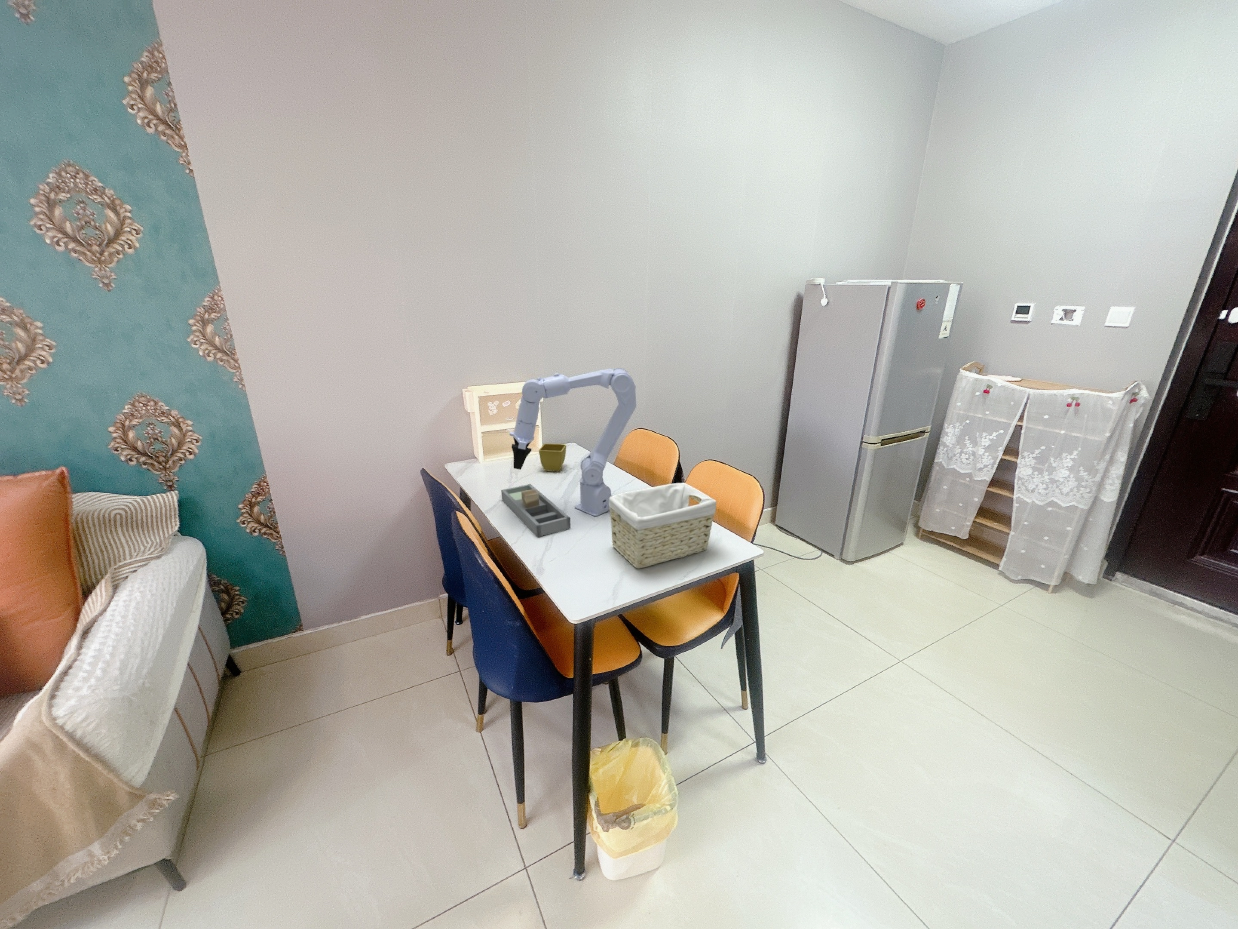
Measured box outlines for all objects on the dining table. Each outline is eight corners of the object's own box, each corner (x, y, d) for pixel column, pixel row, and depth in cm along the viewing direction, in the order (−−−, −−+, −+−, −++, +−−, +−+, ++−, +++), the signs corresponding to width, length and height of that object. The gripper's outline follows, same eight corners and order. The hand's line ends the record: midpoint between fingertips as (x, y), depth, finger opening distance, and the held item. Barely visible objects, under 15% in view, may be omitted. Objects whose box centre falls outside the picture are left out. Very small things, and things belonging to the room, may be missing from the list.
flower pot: (567, 466, 188) (566, 444, 185) (562, 474, 180) (561, 451, 177) (545, 465, 189) (544, 443, 186) (539, 473, 181) (538, 450, 178)
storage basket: (680, 527, 140) (682, 479, 135) (716, 552, 126) (720, 500, 121) (606, 546, 129) (605, 495, 124) (636, 575, 116) (637, 520, 111)
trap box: (570, 528, 138) (570, 517, 137) (537, 537, 133) (537, 526, 132) (531, 493, 162) (530, 483, 161) (502, 499, 157) (501, 490, 156)
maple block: (539, 505, 149) (538, 493, 147) (526, 508, 147) (526, 496, 145) (534, 500, 152) (533, 489, 150) (522, 503, 150) (521, 491, 149)
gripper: (513, 411, 146) (505, 453, 150) (511, 424, 132) (502, 470, 137) (537, 416, 148) (528, 458, 152) (537, 429, 134) (527, 474, 138)
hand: (517, 464), depth 144 cm, fingers open, 7 cm apart
